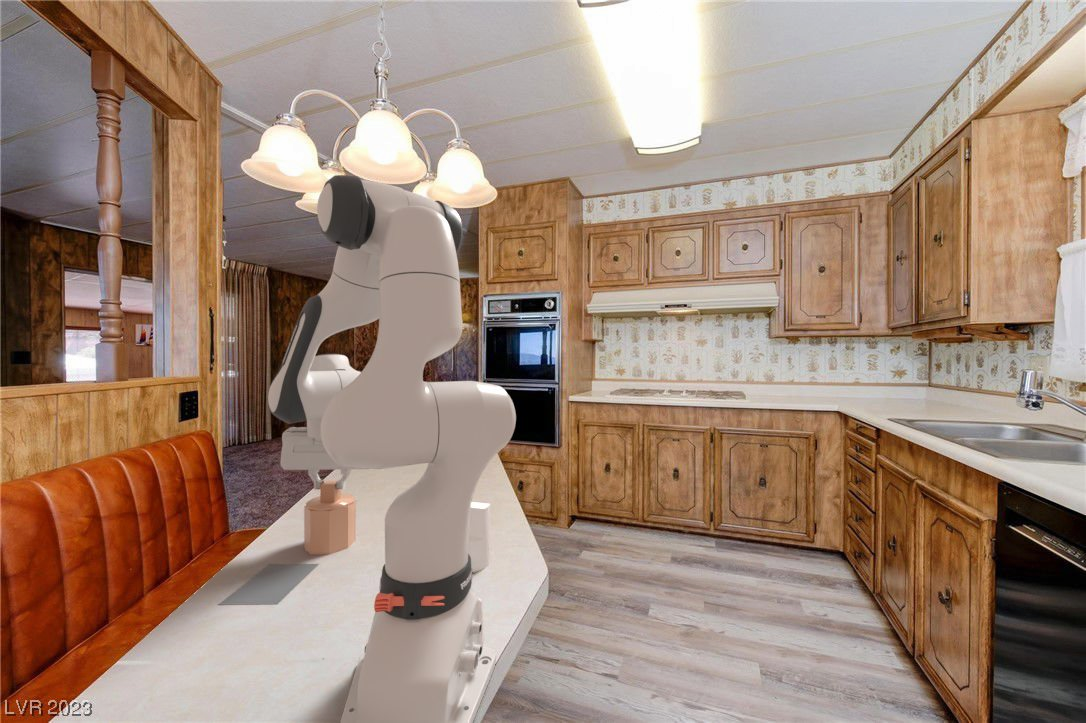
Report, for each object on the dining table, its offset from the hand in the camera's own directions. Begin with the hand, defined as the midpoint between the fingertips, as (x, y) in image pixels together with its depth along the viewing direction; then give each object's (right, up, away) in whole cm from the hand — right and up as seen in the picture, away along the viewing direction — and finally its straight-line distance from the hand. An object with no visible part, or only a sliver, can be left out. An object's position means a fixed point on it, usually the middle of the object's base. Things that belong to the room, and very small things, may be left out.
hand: (330, 488), depth 95 cm
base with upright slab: (+32, -13, -7) cm, 35 cm away
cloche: (0, -13, 0) cm, 13 cm away
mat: (-3, -13, -16) cm, 21 cm away
